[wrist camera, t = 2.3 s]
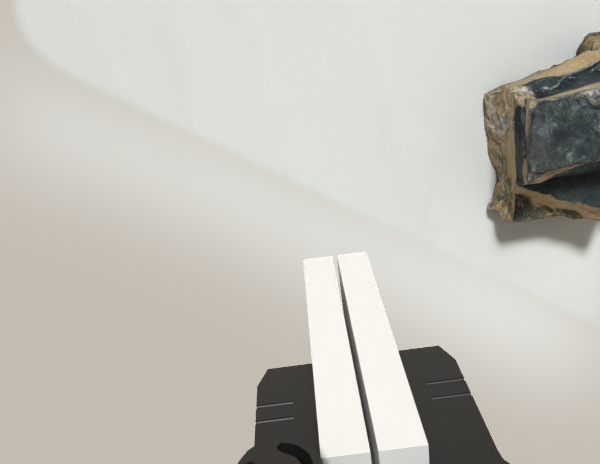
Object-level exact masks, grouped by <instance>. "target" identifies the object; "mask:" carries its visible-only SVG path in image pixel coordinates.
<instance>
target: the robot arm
mask: <svg viewBox="0 0 600 464" xmlns="http://www.w3.org/2000/svg"><path fill="white" fill-rule="evenodd" d="M337 261H338V268H339V278H340V286H341V295H342V303H343V309H342V304H341V298H340V293H339V288H338V283H337V278H336V273H335V268H334V263H333V258H332V256H327V257H319V258H312V259H304V260H303V264H304V275H305V286H306V298H307V309H308V320H309V331H310V342H311V354H312V364H305V365H297V366H290V367H282V368H274V369H268V370H267V372H266V373H265V375H264V377H263V379H262V380H261V382H260V383H259V385H258V387H257V410H256V426H255V446H254V447H253V448H251V449H250V450H248V451H247V452H246V454H245V455H244V456H243V457H242V459H241V460H240V461H239V463H238V464H509V463H508V462H507V461H505V460H504V459H503V458H502V457H501V455H500V453H499V452H498V450H497V448H496V446H495V444H494V442H493V439H492V437H491V435H490V433H489V431H488V429H487V427H486V425H485V422H484V420H483V418H482V416H481V414H480V412H479V409H478V407H477V405H476V403H475V401H474V399H473V396H471V393H470V390H469V388H468V386H467V384H466V381H464V377H463V375H462V373H461V371H460V369H459V366H458V364H457V362H456V360H455V359H454V358H453V357H452V356H450V355H449V354H448V353H447V352H445V351H444V350H443V349H442V348H441V347H439V346H433V347H425V348H417V349H409V350H402V351H398V349H397V346H396V343H395V340H394V337H393V334H392V331H391V328H390V324H389V321H388V318H387V315H386V312H385V309H384V306H383V302H382V299H381V296H380V294H379V290H378V287H377V284H376V281H375V278H374V275H373V272H372V268H371V265H370V262H369V259H368V256H367V253H366V251H364V252H357V253H349V254H342V255H337ZM343 313H344V314H343Z"/></svg>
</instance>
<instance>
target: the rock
mask: <svg viewBox="0 0 600 464" xmlns="http://www.w3.org/2000/svg"><path fill="white" fill-rule="evenodd" d="M484 96H485V97H484V104H485V109H484V126H485V130H486V132H487V135H488V137H489V139H488V145H487V147H488V155H489V157H490V159H491V162H492V164H493V165H494V166H495V167H496V168H497V182H496V185H495V189H494V196H493V199H492V200H488V202H489V203H490V204H488V209H490V210H492V211H497V212H499V214H500V216H501V218H502V219H503V220H504V221H507V222H510V223H515V222H522V221H531V220H535V219H541V218H546V217H553V216H559V215H563V216H566V217H569V218H572V219H580V218H587V219H594V220H600V32H593V33H589V34H588V35H587V36H586V37H585V38H584V40H583V41H582V43H581V44H580V45H579V47H578V48H577V51H576V56H575V57H574V58H572V59H569V60H566V61H565V62H563V63H562V64H559V65H553V66H552V67H551V68H550V69H547V70H542V71H538V72H536V73H534V74H531V75H530V76H528V77H526V78H524V79H522V80H519V81H516V82H512V83H508V84H506V85H502V86H500V87H498V88H496V89H494V90H492V91H490V92H488V93H486V94H484Z"/></svg>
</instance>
